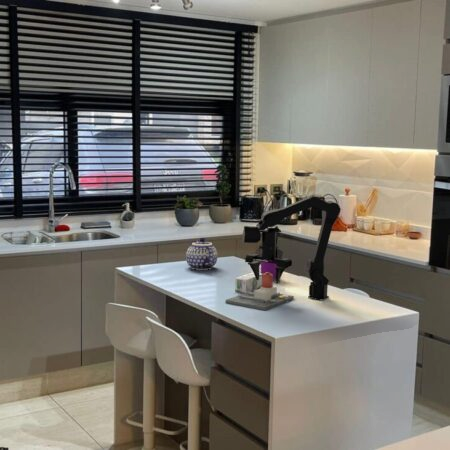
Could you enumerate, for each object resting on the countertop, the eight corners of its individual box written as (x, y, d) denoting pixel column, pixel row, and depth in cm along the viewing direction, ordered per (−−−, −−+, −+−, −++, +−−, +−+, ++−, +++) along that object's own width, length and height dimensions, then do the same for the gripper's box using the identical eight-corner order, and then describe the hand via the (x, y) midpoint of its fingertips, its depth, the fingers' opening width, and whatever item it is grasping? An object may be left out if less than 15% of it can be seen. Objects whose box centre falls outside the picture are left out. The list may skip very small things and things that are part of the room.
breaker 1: (270, 299, 275) (271, 290, 274) (265, 301, 271) (265, 292, 271) (260, 297, 278) (260, 288, 277) (254, 299, 274) (254, 290, 274)
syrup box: (251, 271, 303) (234, 277, 291) (263, 273, 300) (246, 279, 288) (251, 284, 304) (233, 291, 292) (263, 286, 301) (246, 293, 289)
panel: (293, 299, 281) (293, 293, 281) (265, 310, 263) (265, 304, 263) (255, 292, 291) (255, 287, 291) (225, 302, 273) (225, 297, 273)
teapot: (225, 272, 328) (225, 241, 326) (194, 274, 323) (194, 243, 321) (208, 262, 351) (208, 232, 349) (179, 263, 346) (179, 234, 344)
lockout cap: (274, 286, 281) (275, 272, 281) (269, 288, 278) (269, 274, 277) (265, 284, 284) (265, 270, 283) (259, 286, 280) (259, 272, 279)
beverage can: (265, 275, 322) (265, 250, 321) (280, 278, 319) (281, 252, 317) (257, 278, 316) (258, 252, 314) (272, 281, 312) (273, 254, 310)
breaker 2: (276, 295, 281) (276, 286, 281) (270, 297, 278) (271, 288, 277) (265, 293, 284) (266, 285, 284) (260, 295, 281) (260, 287, 280)
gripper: (299, 243, 280) (297, 281, 282) (259, 238, 290) (258, 275, 292) (285, 246, 271) (284, 286, 273) (244, 241, 281) (243, 279, 283)
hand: (267, 281), depth 281 cm, fingers open, 9 cm apart
